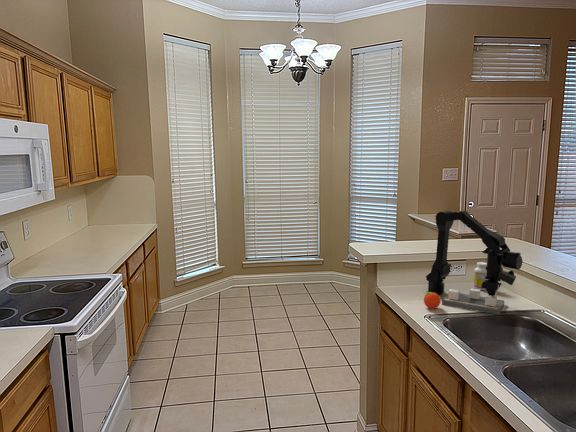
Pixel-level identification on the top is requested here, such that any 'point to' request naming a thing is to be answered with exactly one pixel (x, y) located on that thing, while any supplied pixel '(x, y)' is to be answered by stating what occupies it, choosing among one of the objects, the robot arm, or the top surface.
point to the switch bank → (474, 304)
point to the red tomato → (431, 300)
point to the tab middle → (474, 293)
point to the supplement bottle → (480, 275)
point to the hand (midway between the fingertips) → (492, 299)
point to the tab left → (454, 294)
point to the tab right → (490, 300)
